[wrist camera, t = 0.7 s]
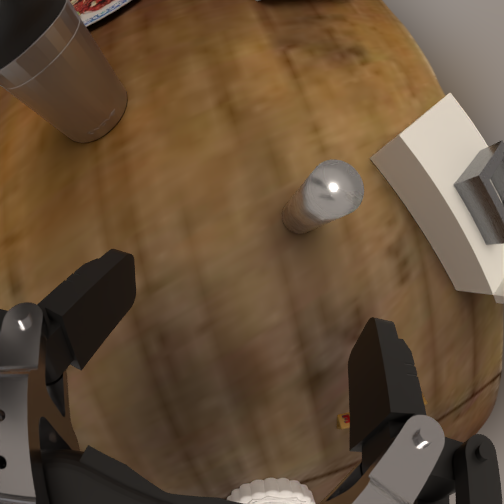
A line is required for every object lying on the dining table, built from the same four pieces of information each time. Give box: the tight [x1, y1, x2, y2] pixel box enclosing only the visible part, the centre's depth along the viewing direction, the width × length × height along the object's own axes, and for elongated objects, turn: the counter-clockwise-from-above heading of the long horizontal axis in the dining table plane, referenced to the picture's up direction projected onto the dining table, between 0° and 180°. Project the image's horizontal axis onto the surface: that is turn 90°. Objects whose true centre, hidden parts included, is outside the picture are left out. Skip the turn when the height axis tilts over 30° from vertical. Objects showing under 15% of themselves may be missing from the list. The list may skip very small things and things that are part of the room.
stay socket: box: [453, 141, 504, 245], centre depth 21 cm, size 8×8×4 cm
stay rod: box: [282, 160, 364, 234], centre depth 23 cm, size 4×4×12 cm
